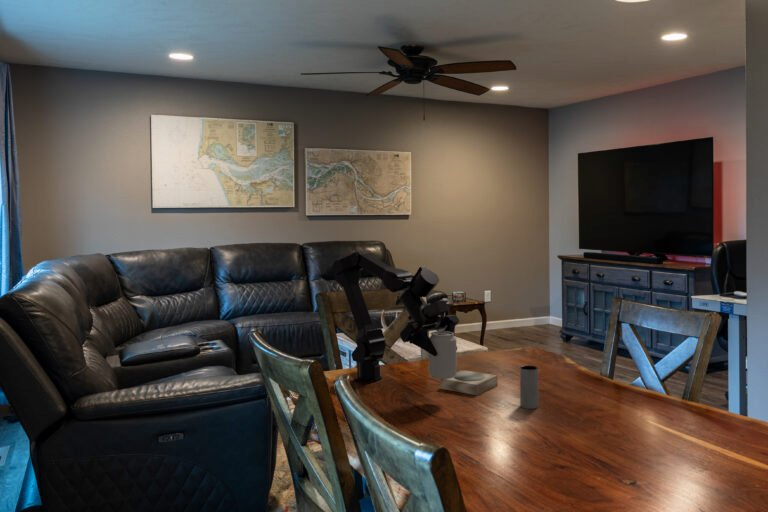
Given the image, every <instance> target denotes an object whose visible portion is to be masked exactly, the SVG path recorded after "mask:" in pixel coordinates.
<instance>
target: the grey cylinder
mask: <svg viewBox="0 0 768 512" xmlns="http://www.w3.org/2000/svg"><path fill="white" fill-rule="evenodd" d="M519 372H520V373H519V374H520V375H519V378H520V381H519V382H520V383H519V384H520V385H519V387H520V388H519V389H520V390H519V395H520V396H519V397H520V398H519V399H520V403H519V404H520V407H521V408H522V409H528V410H533V409H537V408H538V407H539V367H538V366H535V365H522V366H520V368H519Z"/></svg>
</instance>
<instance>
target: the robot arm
mask: <svg viewBox="0 0 768 512" xmlns="http://www.w3.org/2000/svg"><path fill="white" fill-rule="evenodd" d="M361 270H365V271H367V272H368V273H369V274H372V275H373V276H375V277H376V278H378V279H379V280H380V281H381V282H382V285H383V287H385V288H386V289H387V290H388V291H389V292H391V293H401V295H397V296H396V301H395V305H396V306H403V307H404V309H405V310H406V312H407V313H408V314H409V316H408V317H407V320H408V321H410V322H407V323H406V325H405V326H404V327H403V328H402V330H401V331H400V335H399V337H400V339H401V341H402V342H403V343H408V342H409V344H412V345H414V346H416V347H418V348H420V349H422V350H423V351H425V352H427V354H429V353H430V354H432V355H433V356H436V355H437V351H436V349H435V347H434V346H433V344H432V342H431V341H430V339H429V337H430V336H428V335H429V334H428V333H429V332H434V331H449V332H453V333H454V334H455V332H454V330H455V329H454V328H455V327H456V326H457V325H458V324H459V323H460V319H459V318H458V316H457V315H455V314H449V315H444V316H443V318H441V317H442V315H443V314H445V313H449V312H450V309H451V308H452V306H451V302H450V301H449V300H448V298H446V297H444V298H442V299H439V300H438V301H433V302H431V303H430V302H429V303H427V302H426V300H424V298H427V297H429V295H430V294H431V293H432V292H433V290H434V289H435V288H436V286H438V284H439V283H440V279H439V275H438V274H437V273H435V272H433V271H432V270H431V269H428V268H427V267H426V266H419V267H418V269H417V272H415V274H414V275H413V274H412V272H410V271H408V270H405V269H403V268H402V269H401V268H396V267H392V266H390V265H389V264H387V263H386V262H383V261H381V260H380V259H378V258H377V257H375V256H373V255H372V254H370V253H369V252H368V251H366V250H363V251H362V250H361V251H354V252H352V253H351V254H349V255H347V256H345V257H342V258H340V259H336V260H334V262H333V263H332V266H331V274H332V275H333V277H334V279H335V282H337V283H338V285H340V287H342V288H343V290H344V293H345V296H346V300H347V302H348V305H349V308H350V311H351V314H352V318H353V320H354V323H355V326H356V328H357V334H356V338H355V341H356V347H355V348H354V350H353V351H352V352H351V359H352V361H353V362H356V370H357V371H356V373H357V374H356V375H357V376H355V377H354V378H353V380H354V381H359V382H364V383H373V382H375V381H379V380H381V379H383V376H381V365H380V360H381V359H383V358H384V355H385V350H386V348H387V343H386V341H387V340H386V338H385V336H384V333H383V332H384V331H383V329H382V328H376V327H375V325H374V324H373V320H372V319H371V315H370V312H369V310H368V307H367V303H366V301H365V297H364V295H363V292H362V289H361V286H360V279H361ZM440 319H441V320H440ZM438 320H439V321H438ZM457 351H458V345H456V352H457Z"/></svg>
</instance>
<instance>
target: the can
mask: <svg viewBox="0 0 768 512" xmlns="http://www.w3.org/2000/svg"><path fill="white" fill-rule="evenodd" d="M453 332H454V331H453ZM453 332H449V331H437V330H434V331H431V332H430V336H428V337H429V339H430V341H431V342H432V344H433V346H434V347H435V349H436V351H437V355H436V356H433V355H432V354H430V353H428V374H429V375H430V376H431V377H432V378H433V379H437V380H438V379H439V380H441V379H450V378H453V377H454V376H455V375H456V374H457V372H458V370H457V351H456V346H457V338H456V336H455V332H454V333H453Z"/></svg>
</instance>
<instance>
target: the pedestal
mask: <svg viewBox="0 0 768 512" xmlns="http://www.w3.org/2000/svg"><path fill="white" fill-rule="evenodd" d="M495 387H498V374H497V375H495V374H489V373H485V372H484V373H483V372H477V371H471V370H465V369H460V370H457V374H456V375H455V376H454V377H453V378H450V379H440V390H447V391H450V392H451V391H453V392H457V393H462V394H466V395H468V394H469V395H473V396H478V395H481V394H483V393H485V392H487V391H489V390H491V389H493V388H495Z"/></svg>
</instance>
